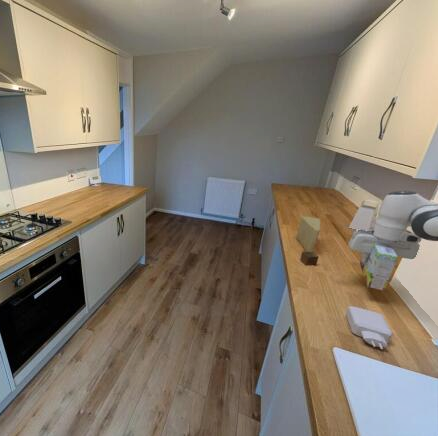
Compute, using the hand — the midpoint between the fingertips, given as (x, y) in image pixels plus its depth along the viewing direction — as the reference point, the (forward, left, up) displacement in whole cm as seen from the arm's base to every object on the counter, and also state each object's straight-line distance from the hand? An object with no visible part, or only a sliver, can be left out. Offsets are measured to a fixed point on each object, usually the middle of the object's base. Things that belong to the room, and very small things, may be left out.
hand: (375, 263), depth 96 cm
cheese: (+15, -34, -12) cm, 39 cm away
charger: (+10, +31, -12) cm, 35 cm away
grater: (-26, -79, -12) cm, 84 cm away
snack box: (0, 0, -6) cm, 6 cm away
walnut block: (+18, -14, -12) cm, 26 cm away
